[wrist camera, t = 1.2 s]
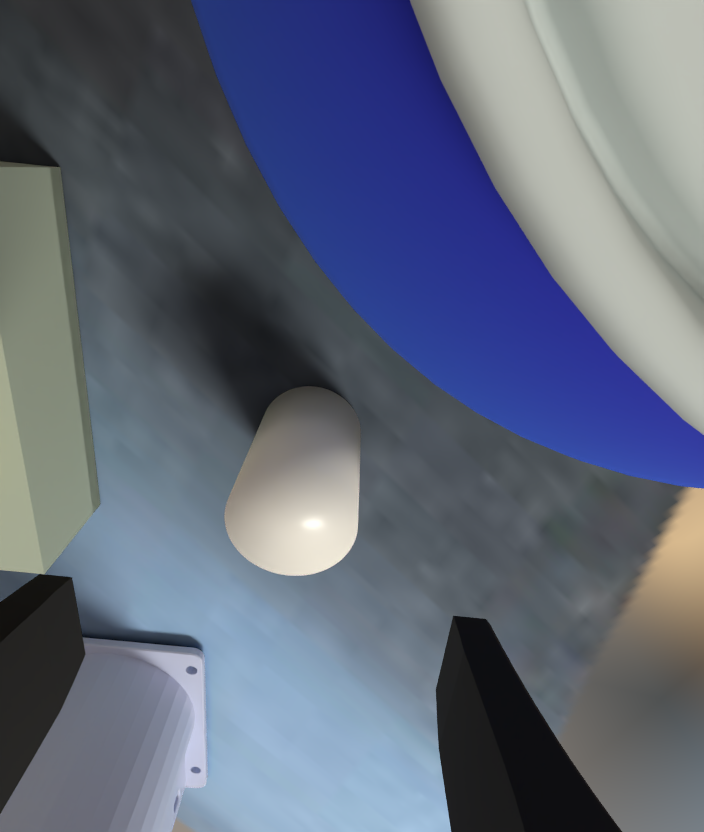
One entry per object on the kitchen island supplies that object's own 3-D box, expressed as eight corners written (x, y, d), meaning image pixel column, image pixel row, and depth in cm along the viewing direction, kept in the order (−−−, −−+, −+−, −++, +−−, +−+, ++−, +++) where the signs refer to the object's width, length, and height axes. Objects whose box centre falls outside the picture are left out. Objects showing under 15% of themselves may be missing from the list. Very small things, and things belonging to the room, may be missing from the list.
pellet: (355, 479, 20) (351, 581, 15) (260, 470, 20) (224, 569, 15) (366, 391, 19) (364, 471, 14) (262, 381, 19) (224, 458, 14)
